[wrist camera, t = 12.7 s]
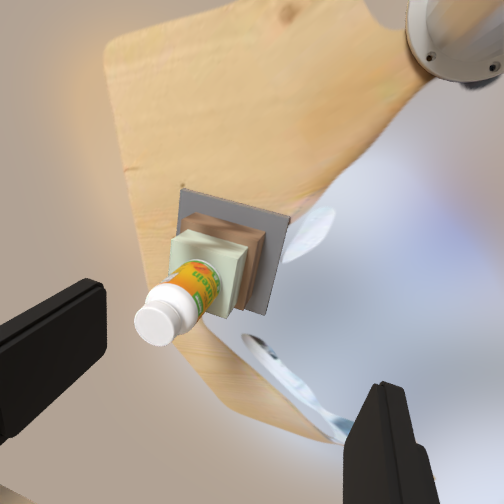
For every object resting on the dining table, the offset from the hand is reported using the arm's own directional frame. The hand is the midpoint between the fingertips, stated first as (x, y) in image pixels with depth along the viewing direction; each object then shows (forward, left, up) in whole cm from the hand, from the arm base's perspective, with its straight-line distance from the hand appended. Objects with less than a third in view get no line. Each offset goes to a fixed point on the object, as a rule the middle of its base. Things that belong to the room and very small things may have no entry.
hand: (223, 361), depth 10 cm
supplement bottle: (+9, +11, -22) cm, 26 cm away
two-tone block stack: (+10, +11, -29) cm, 33 cm away
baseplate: (+10, +11, -30) cm, 34 cm away
